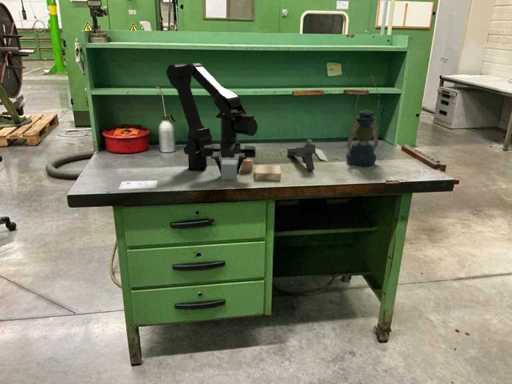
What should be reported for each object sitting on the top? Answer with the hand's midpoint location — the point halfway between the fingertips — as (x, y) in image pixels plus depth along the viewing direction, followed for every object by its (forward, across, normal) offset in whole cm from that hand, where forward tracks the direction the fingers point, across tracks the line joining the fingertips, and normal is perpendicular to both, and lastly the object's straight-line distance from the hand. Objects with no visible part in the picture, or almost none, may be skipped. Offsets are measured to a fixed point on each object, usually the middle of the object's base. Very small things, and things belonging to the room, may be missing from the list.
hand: (229, 174), depth 153 cm
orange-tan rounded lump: (+1, +6, +8) cm, 10 cm away
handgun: (+2, +27, +19) cm, 33 cm away
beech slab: (+1, +14, +2) cm, 14 cm away
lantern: (+1, +52, +21) cm, 56 cm away
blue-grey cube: (+1, 0, 0) cm, 1 cm away
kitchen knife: (+2, +36, +36) cm, 51 cm away
